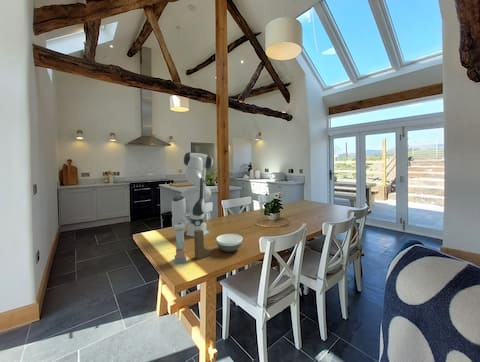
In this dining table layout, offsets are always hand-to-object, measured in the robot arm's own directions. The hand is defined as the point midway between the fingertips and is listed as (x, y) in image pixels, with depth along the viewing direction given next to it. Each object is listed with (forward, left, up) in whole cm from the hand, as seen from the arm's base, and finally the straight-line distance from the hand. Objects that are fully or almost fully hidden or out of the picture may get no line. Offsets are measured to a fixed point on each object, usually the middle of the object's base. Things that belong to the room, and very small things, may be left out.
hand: (180, 244), depth 142 cm
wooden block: (-2, +14, -11) cm, 18 cm away
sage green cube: (0, 0, -2) cm, 2 cm away
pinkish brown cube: (0, 0, -8) cm, 8 cm away
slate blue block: (0, 0, -11) cm, 11 cm away
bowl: (-9, +33, -11) cm, 36 cm away
